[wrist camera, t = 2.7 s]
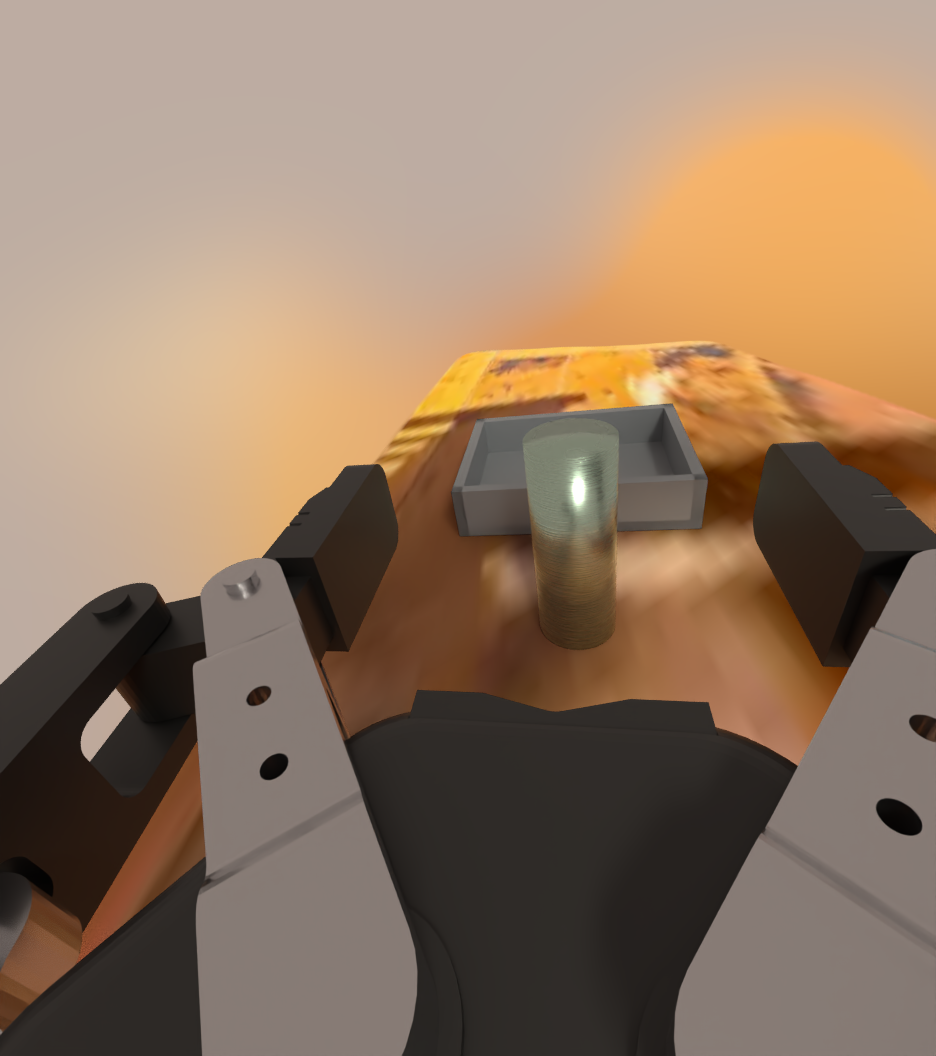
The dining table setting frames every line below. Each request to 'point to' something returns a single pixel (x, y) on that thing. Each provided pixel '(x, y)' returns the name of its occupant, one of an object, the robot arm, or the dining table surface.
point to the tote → (643, 472)
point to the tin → (574, 528)
